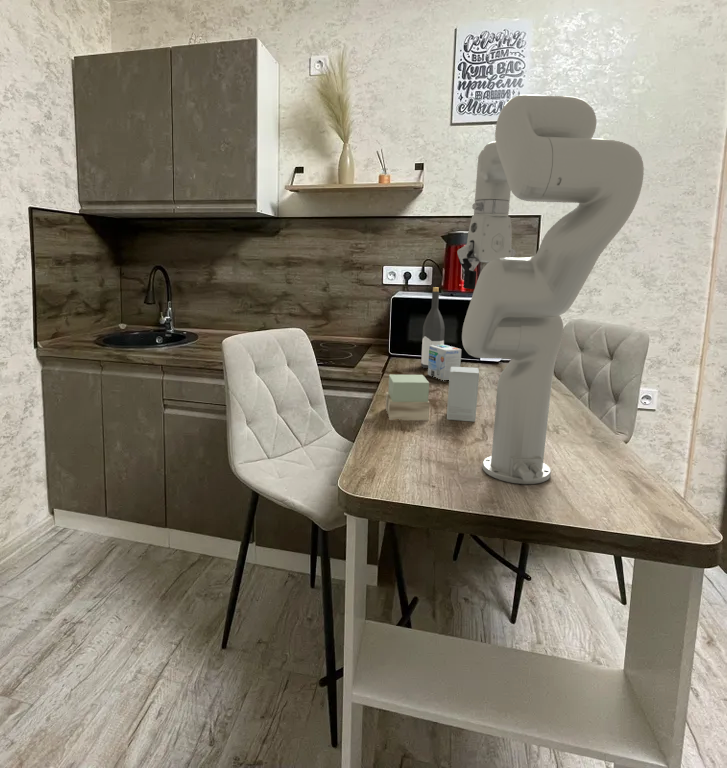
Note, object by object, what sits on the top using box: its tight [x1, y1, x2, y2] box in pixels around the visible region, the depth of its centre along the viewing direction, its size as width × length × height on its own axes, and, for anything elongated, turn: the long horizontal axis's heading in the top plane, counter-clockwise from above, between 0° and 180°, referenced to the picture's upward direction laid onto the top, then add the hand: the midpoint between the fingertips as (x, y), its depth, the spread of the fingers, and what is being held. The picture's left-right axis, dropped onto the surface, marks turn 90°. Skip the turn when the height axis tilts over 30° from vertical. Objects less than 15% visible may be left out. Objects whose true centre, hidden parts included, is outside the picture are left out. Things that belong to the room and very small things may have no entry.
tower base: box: [385, 391, 430, 421], centre depth 135 cm, size 10×10×5 cm
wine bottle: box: [420, 286, 446, 369], centre depth 193 cm, size 8×8×30 cm
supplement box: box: [446, 366, 480, 423], centre depth 133 cm, size 7×7×13 cm
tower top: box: [387, 374, 430, 402], centre depth 134 cm, size 9×9×5 cm
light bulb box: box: [427, 344, 462, 382], centre depth 179 cm, size 11×7×11 cm, turn 25°
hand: (484, 288), depth 119 cm, fingers open, 9 cm apart
